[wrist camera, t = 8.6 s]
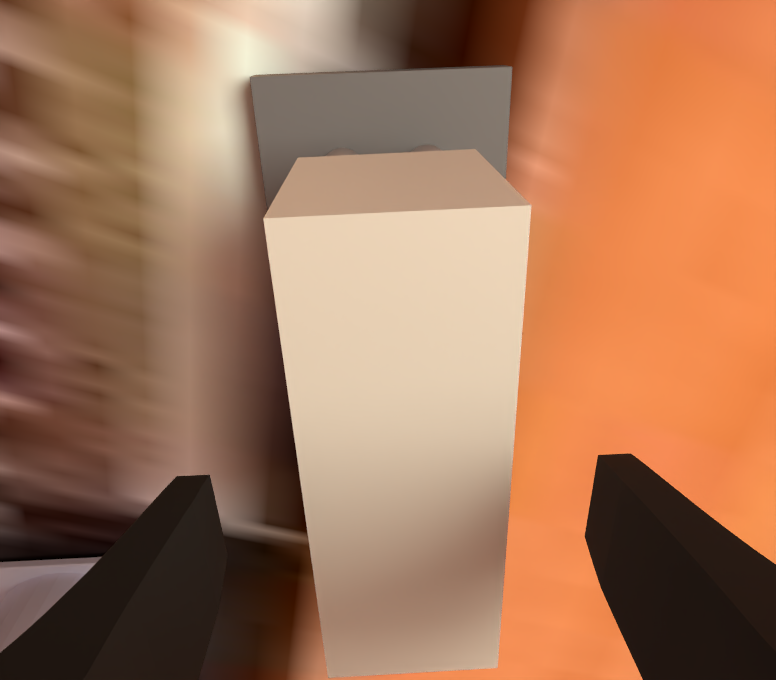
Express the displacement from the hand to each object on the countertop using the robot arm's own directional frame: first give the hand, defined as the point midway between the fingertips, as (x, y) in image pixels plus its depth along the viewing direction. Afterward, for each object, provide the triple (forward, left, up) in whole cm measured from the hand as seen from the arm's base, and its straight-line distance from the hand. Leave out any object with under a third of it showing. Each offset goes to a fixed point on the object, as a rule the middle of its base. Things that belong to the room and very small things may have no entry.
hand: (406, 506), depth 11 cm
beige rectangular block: (0, 0, -5) cm, 5 cm away
